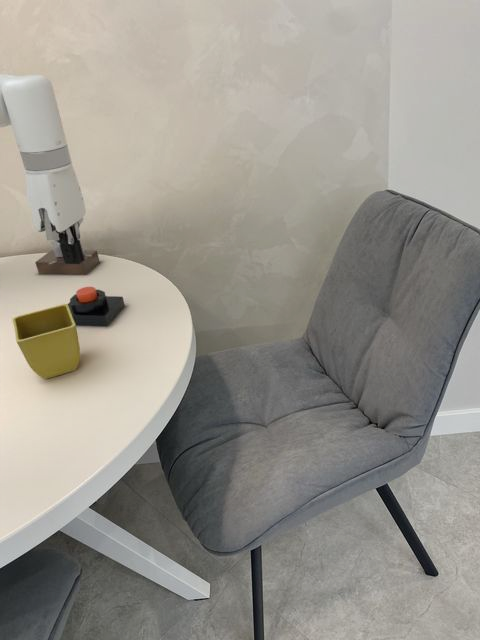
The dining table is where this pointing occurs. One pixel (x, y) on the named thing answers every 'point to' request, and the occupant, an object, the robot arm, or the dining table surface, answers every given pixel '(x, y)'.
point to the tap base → (58, 266)
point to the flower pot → (48, 340)
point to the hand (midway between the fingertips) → (75, 262)
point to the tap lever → (58, 250)
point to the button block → (96, 310)
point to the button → (86, 294)
